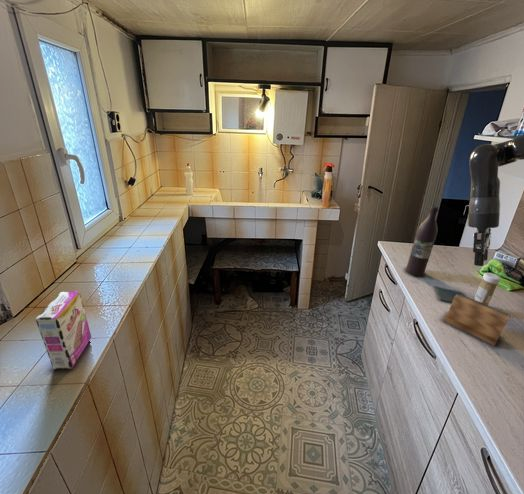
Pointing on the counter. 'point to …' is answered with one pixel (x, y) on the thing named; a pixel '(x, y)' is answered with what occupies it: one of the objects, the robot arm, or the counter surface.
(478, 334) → the magnetic knife rack
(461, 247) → the counter surface
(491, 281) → the sprinkles bottle
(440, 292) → the mat
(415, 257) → the wine bottle
